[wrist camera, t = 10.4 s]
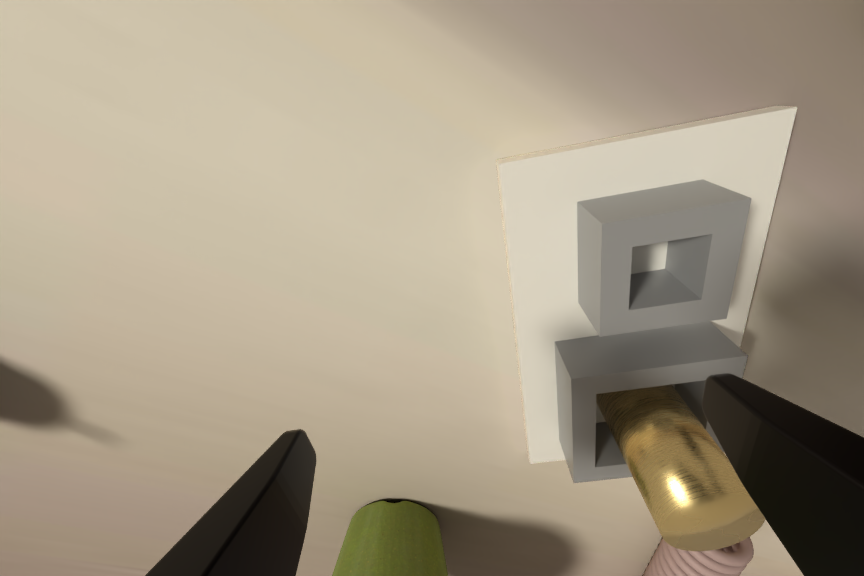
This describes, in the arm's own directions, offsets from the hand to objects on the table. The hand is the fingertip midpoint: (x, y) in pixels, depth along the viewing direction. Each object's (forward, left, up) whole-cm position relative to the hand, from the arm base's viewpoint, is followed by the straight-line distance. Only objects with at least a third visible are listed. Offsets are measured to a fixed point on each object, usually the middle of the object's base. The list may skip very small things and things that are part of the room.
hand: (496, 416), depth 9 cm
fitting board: (-8, +7, -12) cm, 16 cm away
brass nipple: (-8, +11, -11) cm, 17 cm away
